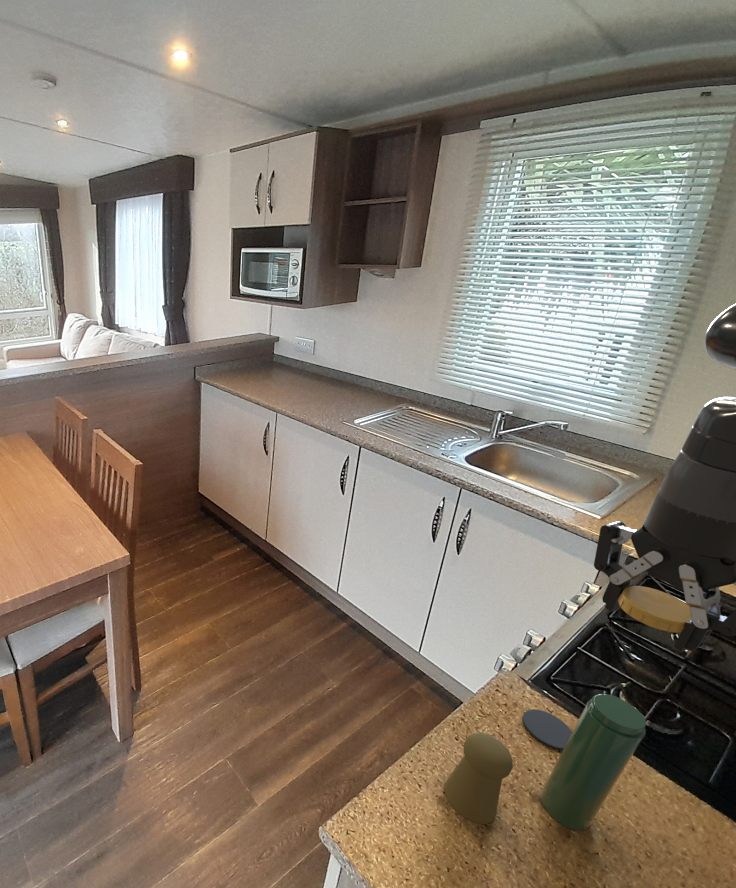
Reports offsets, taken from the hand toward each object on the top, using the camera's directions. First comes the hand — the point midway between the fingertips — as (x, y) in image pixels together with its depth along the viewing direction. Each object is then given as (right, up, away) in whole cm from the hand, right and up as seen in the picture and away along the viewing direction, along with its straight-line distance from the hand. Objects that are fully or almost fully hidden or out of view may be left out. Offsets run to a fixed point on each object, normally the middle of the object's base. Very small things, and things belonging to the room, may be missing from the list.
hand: (646, 626), depth 55 cm
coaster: (+5, -23, +19) cm, 31 cm away
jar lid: (0, +3, -1) cm, 3 cm away
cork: (-13, -28, +11) cm, 33 cm away
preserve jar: (-1, -28, +9) cm, 30 cm away
